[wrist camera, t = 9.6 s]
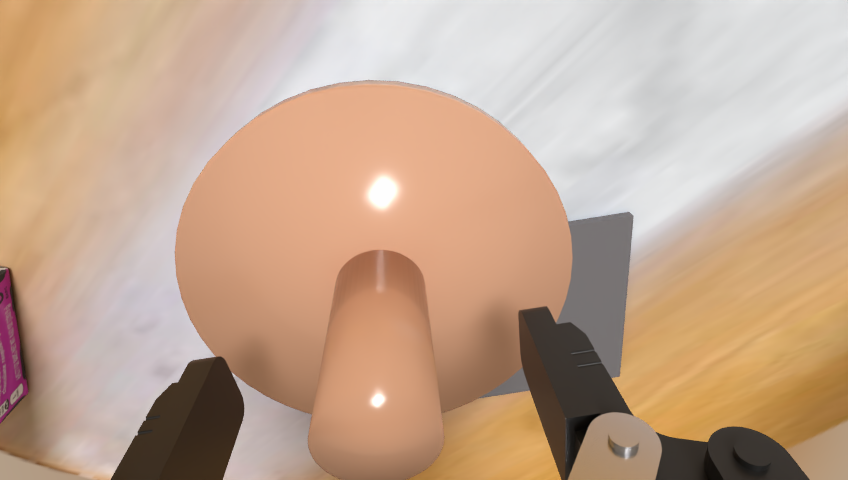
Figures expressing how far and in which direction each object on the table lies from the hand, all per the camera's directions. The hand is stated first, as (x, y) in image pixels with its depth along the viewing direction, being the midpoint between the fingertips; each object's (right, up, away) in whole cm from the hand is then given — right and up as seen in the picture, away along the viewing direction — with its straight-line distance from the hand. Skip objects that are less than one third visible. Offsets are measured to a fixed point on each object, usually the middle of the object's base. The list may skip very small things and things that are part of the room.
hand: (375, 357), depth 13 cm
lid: (0, +2, +4) cm, 5 cm away
